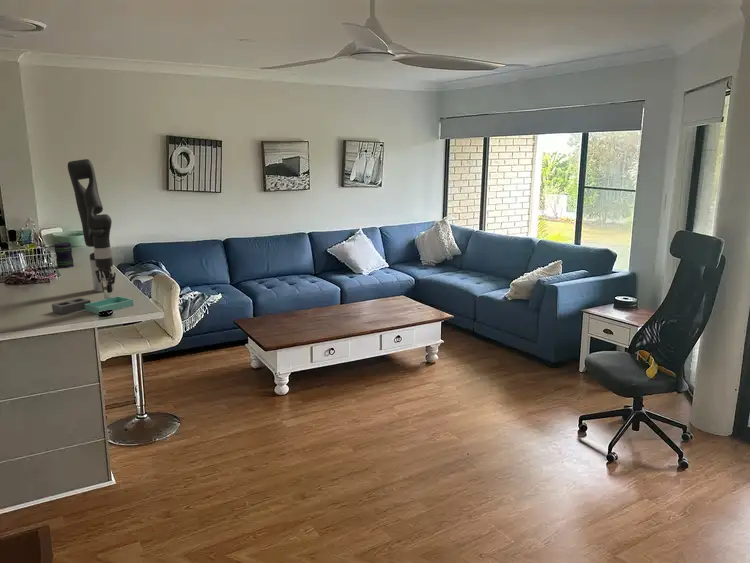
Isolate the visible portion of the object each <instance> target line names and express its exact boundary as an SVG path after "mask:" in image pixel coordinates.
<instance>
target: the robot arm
mask: <svg viewBox="0 0 750 563" xmlns="http://www.w3.org/2000/svg"><path fill="white" fill-rule="evenodd" d="M67 171H68V174H69V177H70V181H71V185H72V187H73V192H74V196H75V203H76V205H77V211H78V214H79V215H78V216H79V218H80V221H81V226H82V227H81V228H82V233H83V239H84V243H85V245H86V247H88V248H89V247H90V248H91V247H92V248H94V249H93V250H94V251H93V252H92V253H90V254H89V263H90V270H91V277H92V279H91V280H92V286H93V292H94V293H95V292H96V293H102V292H103V293H104V290H103V281H102V278H104V280H105V281H106V285H107V292H108V293H111V294H112V293H113V290H114V289H115V286H114V285H115V281H116V273H117V272H113V269H112V267H113V266H114V263H113V262H114V261H113V253H112V249H111V248H112V247H111V241H110V236H111V235H110V234H111V228H112V217H111V216H110V215H109V214H107V213H106V214H105V213H103V211H104V208H103V204H102V201H101V198H100V194H99V190H98V182H97V178H96V173H95V170H94V166H93V163H92V161H91V160H90V159H87V158H85V159H76V160H70V161H68V162H67ZM87 179H88V183H87V184H88V185H87V186H86V187H84V185H82V184H81V182H80V181H81V180H87ZM101 213H103V214H101ZM107 278H108V279H107ZM108 280H109V282H108Z"/></svg>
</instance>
